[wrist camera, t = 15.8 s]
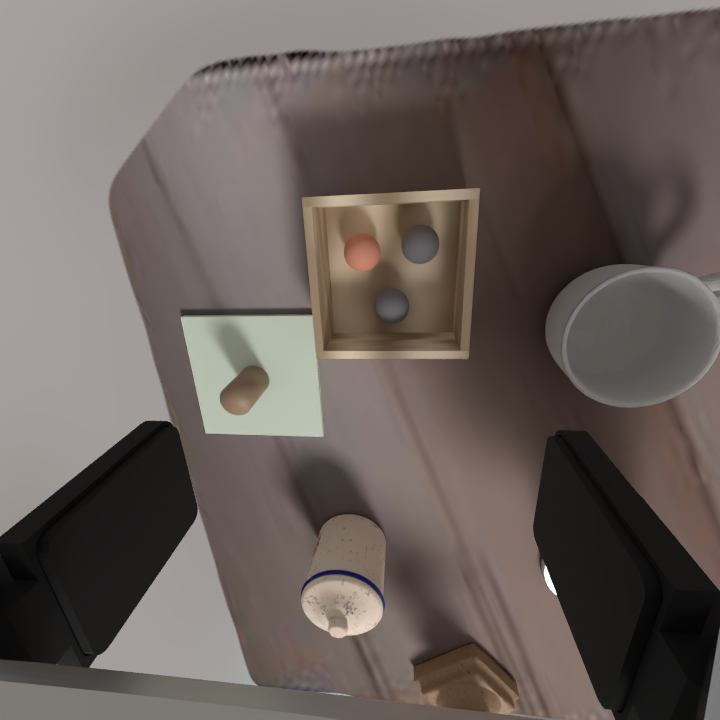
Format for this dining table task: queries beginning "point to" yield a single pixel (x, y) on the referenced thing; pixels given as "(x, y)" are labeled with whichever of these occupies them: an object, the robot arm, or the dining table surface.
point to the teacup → (635, 332)
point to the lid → (256, 373)
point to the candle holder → (466, 681)
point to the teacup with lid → (346, 577)
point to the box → (392, 274)
